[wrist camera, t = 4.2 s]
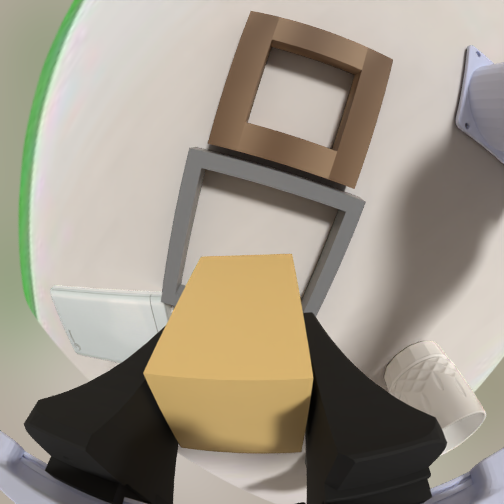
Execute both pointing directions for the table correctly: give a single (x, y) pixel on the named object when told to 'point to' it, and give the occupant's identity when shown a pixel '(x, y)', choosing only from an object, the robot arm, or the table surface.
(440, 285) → the table surface
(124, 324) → the hard drive
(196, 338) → the peg
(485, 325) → the table surface
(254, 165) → the gray square frame
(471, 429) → the white cup
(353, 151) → the socket block
